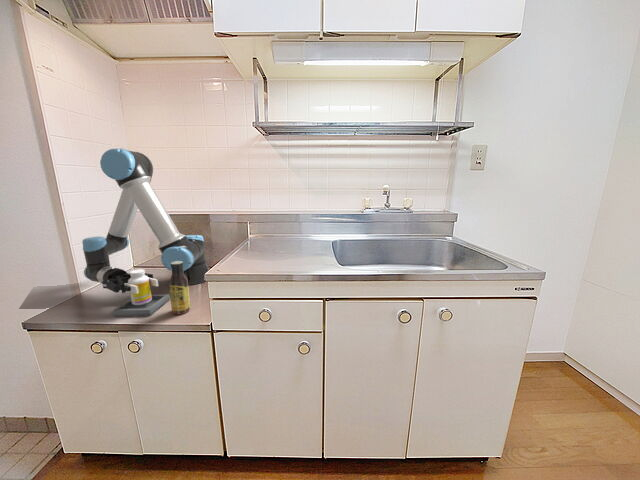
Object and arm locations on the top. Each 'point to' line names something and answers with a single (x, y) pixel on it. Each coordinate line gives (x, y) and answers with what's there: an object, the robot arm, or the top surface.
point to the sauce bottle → (179, 289)
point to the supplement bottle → (140, 287)
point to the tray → (141, 307)
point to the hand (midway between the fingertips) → (147, 286)
